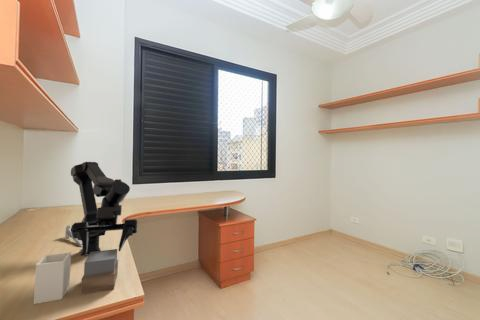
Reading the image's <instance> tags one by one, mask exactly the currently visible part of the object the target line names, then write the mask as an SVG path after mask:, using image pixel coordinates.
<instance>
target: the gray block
mask: <svg viewBox="0 0 480 320" xmlns="http://www.w3.org/2000/svg"><path fill="white" fill-rule="evenodd" d="M117 260H118V248H115V249H114V248H113V249H105V250H101V251H95V252H90V254H88V255H87V257H86V259H85V261H84V267H83V275H84V277H87V276H93V275H100V274H106V273H113V272H114V270H115V266H116V262H117Z"/></svg>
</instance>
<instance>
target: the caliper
mask: <svg viewBox="0 0 480 320" xmlns="http://www.w3.org/2000/svg"><path fill="white" fill-rule="evenodd" d="M65 238H66V239H70V238H72V240H73V241H74V242H75V243H76V244H77V245H78V247H81V248H82V241H81V240H77V238H73V235H72V232H71V225H70V224H67V225H66V227H65Z"/></svg>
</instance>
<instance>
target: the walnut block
mask: <svg viewBox="0 0 480 320" xmlns="http://www.w3.org/2000/svg"><path fill="white" fill-rule="evenodd" d="M118 269H119V259H117V262H116V266H115V270H114V272H113V273H106V274H100V275H93V276H87V277H84V274H83V275H82V278H81V282H80V283H81V284H80V285H81V286H80V287H81V288H80V296H84V295H85V296H86V295H90V294H96V293H101V292H107V291H112V290H115V287H116V284H117V283H116V281H117V278H118V277H117V276H118Z"/></svg>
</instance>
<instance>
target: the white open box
mask: <svg viewBox="0 0 480 320" xmlns="http://www.w3.org/2000/svg"><path fill="white" fill-rule="evenodd" d="M71 260H72V252H65V253H64V252H63V253H54V254H46V255H45V256H44V257H42V258H41V259H40V261H38V262H37V263H36V264H35V278H34V292H33V293H34V294H33V295H34V296H33V305H37V304H36V303H38V304H43V302H44V303H47V302H54V301H58V300H59V301H60V300H63V298H64V297H65V295H66V293H67V292H68V290H69V288H70V282H71V280H70V279H71V265H72V263H71Z"/></svg>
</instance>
